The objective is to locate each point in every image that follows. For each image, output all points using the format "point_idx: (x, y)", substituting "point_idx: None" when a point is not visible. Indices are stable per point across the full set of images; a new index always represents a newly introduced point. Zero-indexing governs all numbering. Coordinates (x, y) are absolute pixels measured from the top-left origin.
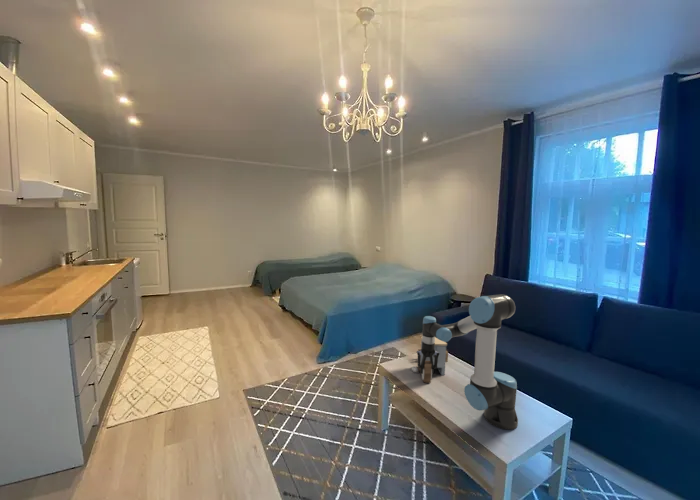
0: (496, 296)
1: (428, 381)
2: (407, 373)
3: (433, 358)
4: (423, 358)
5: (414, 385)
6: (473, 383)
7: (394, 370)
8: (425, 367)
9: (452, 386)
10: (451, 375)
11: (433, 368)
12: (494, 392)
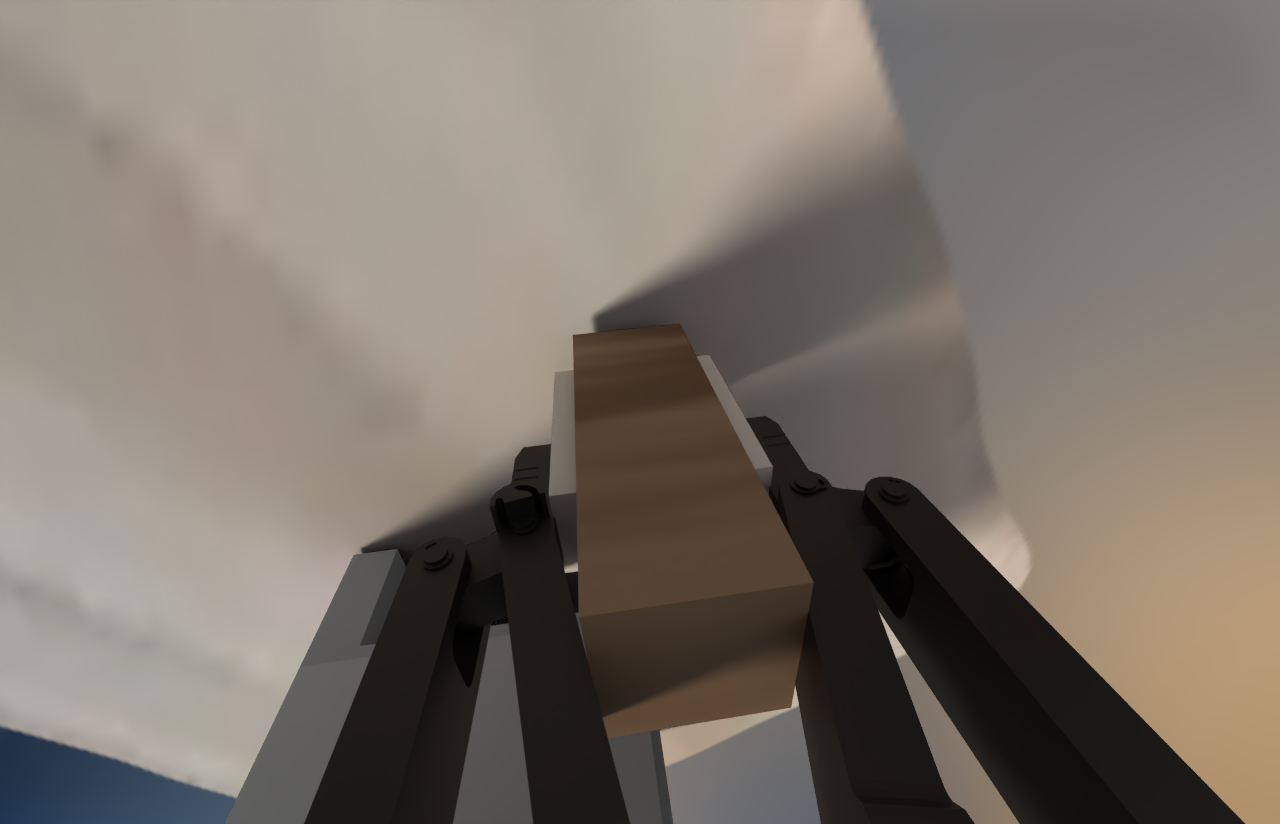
0: None
1: (610, 339)
2: None
3: (485, 811)
4: (933, 799)
5: (836, 248)
6: None
7: None
8: (746, 497)
9: (195, 303)
10: (258, 567)
11: (513, 521)
12: None
